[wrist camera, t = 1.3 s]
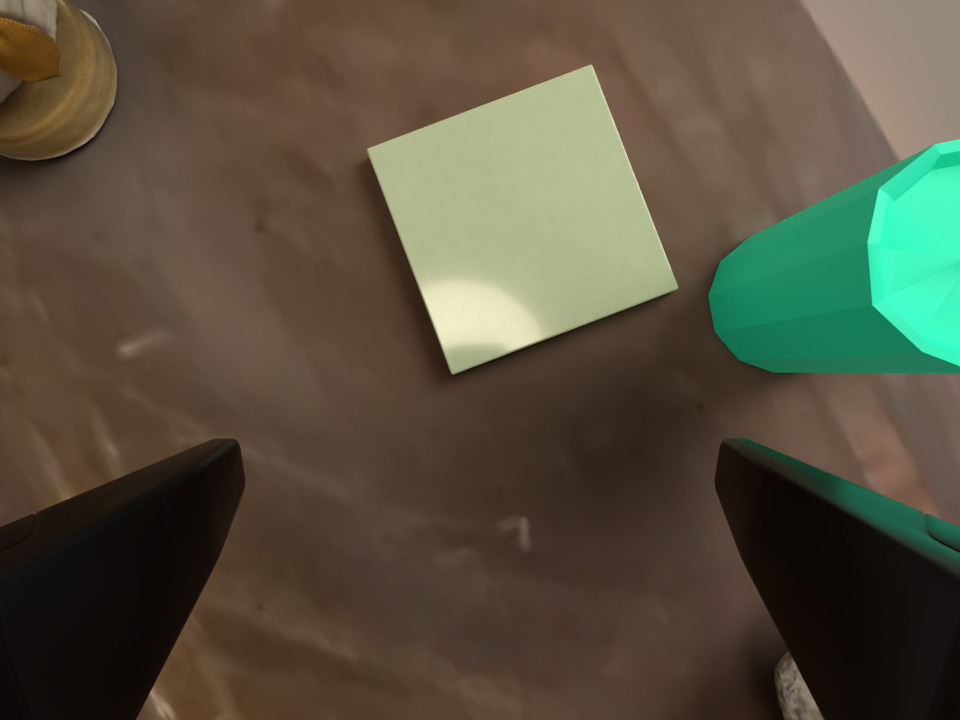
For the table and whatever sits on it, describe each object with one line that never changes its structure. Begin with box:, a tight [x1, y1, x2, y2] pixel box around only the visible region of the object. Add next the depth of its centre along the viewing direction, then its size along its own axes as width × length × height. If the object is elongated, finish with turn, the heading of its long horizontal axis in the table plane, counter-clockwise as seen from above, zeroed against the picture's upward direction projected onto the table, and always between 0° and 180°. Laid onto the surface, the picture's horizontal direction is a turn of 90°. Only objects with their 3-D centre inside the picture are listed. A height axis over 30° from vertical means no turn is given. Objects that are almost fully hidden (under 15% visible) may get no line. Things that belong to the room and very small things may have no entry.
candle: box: [708, 139, 960, 373], centre depth 19 cm, size 6×6×12 cm
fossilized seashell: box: [774, 651, 824, 720], centre depth 23 cm, size 11×11×7 cm
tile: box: [367, 65, 678, 375], centre depth 25 cm, size 10×10×1 cm
